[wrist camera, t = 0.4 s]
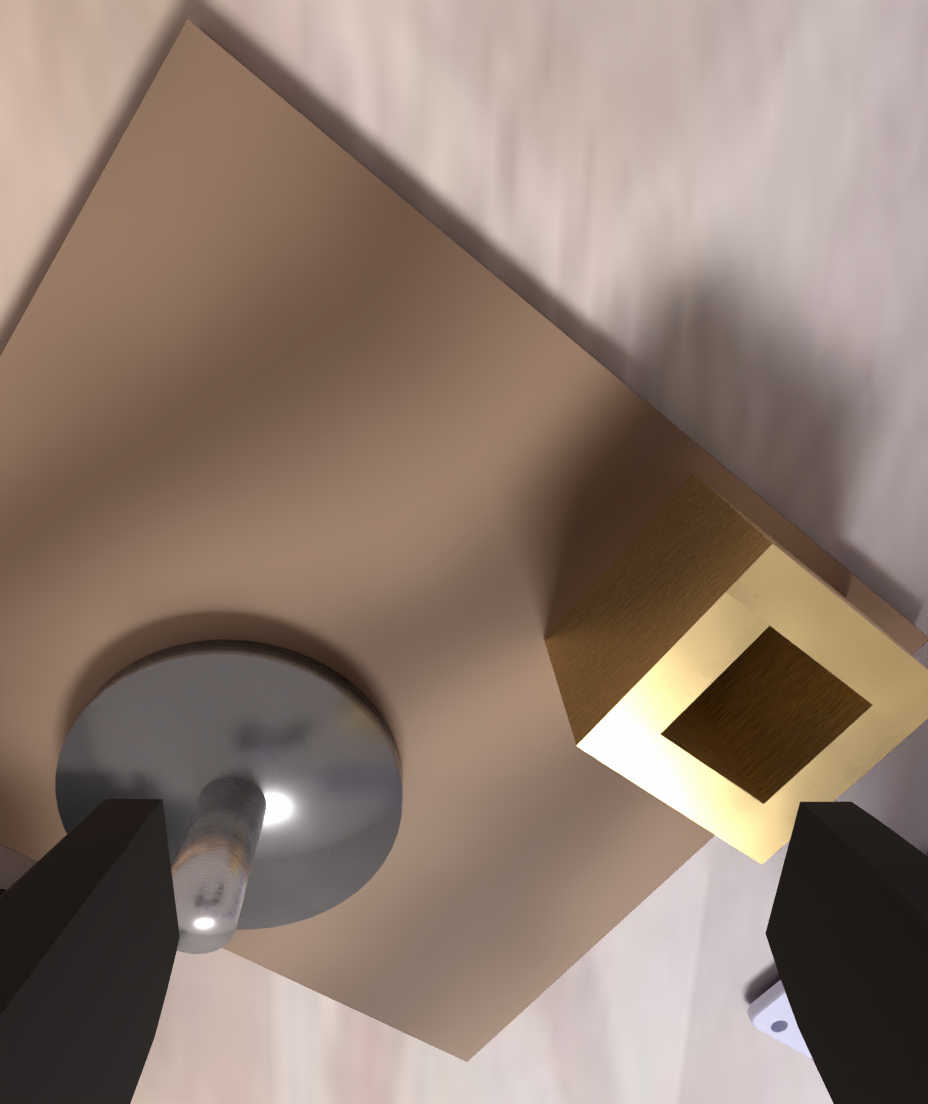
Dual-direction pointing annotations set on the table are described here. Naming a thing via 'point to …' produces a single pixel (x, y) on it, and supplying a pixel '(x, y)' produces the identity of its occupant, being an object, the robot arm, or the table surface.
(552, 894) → the board
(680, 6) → the table surface
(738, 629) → the collar
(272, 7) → the table surface
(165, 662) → the stand
